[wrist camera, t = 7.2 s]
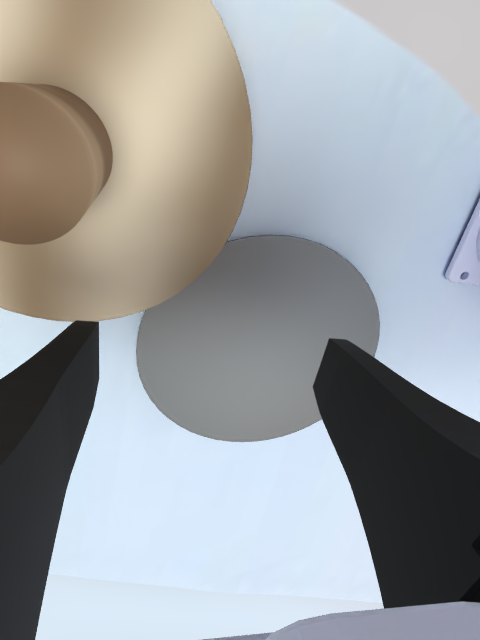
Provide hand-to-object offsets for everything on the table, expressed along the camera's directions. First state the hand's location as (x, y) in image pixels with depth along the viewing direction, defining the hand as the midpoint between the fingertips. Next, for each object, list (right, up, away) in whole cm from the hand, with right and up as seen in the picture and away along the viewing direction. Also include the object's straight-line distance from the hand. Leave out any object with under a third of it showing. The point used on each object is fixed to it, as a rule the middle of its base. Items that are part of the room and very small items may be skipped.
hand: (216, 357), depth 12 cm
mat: (+2, -1, +12) cm, 12 cm away
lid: (-5, +7, +1) cm, 9 cm away
